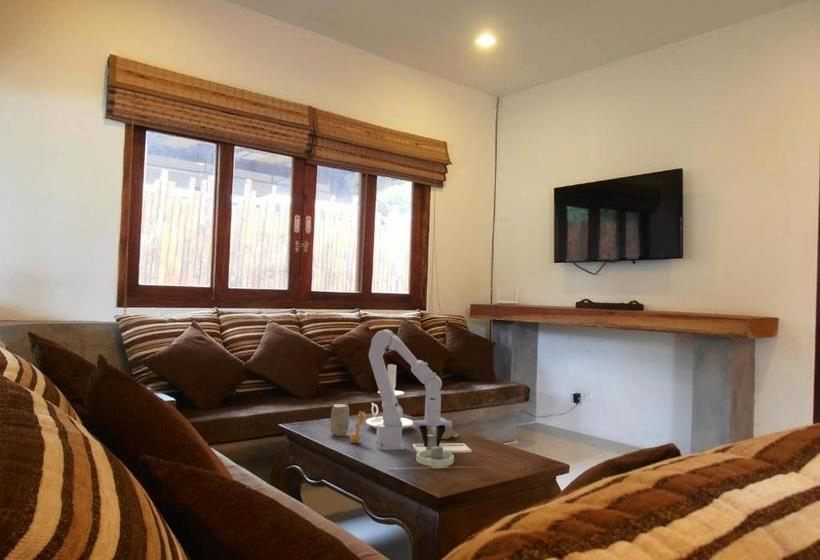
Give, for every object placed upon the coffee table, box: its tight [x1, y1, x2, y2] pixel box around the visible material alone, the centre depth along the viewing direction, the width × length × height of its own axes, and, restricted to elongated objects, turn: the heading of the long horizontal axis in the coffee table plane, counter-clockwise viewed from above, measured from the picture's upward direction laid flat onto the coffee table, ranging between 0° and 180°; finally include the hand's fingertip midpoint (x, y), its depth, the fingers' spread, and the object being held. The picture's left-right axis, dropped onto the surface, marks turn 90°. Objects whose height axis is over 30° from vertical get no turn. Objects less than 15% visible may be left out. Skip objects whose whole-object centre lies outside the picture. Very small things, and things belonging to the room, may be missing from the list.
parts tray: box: [412, 442, 473, 454], centre depth 212 cm, size 20×10×1 cm, turn 101°
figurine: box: [349, 410, 368, 444], centre depth 219 cm, size 8×6×12 cm
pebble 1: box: [426, 434, 437, 450], centre depth 211 cm, size 4×4×5 cm
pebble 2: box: [431, 446, 443, 460], centre depth 195 cm, size 4×4×5 cm
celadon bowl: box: [415, 450, 455, 469], centre depth 197 cm, size 13×13×3 cm
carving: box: [329, 403, 350, 437], centre depth 230 cm, size 6×8×12 cm
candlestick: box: [365, 364, 414, 431], centre depth 245 cm, size 21×25×28 cm
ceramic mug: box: [430, 416, 459, 440], centre depth 232 cm, size 11×8×8 cm
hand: (431, 446), depth 211 cm, fingers closed on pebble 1, 4 cm apart
